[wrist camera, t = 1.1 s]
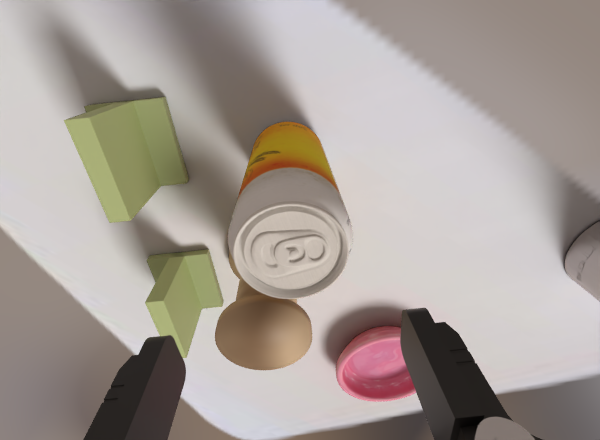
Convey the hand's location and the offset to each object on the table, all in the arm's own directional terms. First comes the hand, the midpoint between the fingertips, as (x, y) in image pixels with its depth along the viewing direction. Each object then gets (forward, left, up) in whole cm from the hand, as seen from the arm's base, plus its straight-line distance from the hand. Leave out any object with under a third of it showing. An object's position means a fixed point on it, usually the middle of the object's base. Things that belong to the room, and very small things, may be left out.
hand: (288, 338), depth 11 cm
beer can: (0, -1, -19) cm, 19 cm away
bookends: (+12, +4, -19) cm, 23 cm away
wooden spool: (+3, +9, -19) cm, 21 cm away
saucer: (-9, +26, -20) cm, 34 cm away
